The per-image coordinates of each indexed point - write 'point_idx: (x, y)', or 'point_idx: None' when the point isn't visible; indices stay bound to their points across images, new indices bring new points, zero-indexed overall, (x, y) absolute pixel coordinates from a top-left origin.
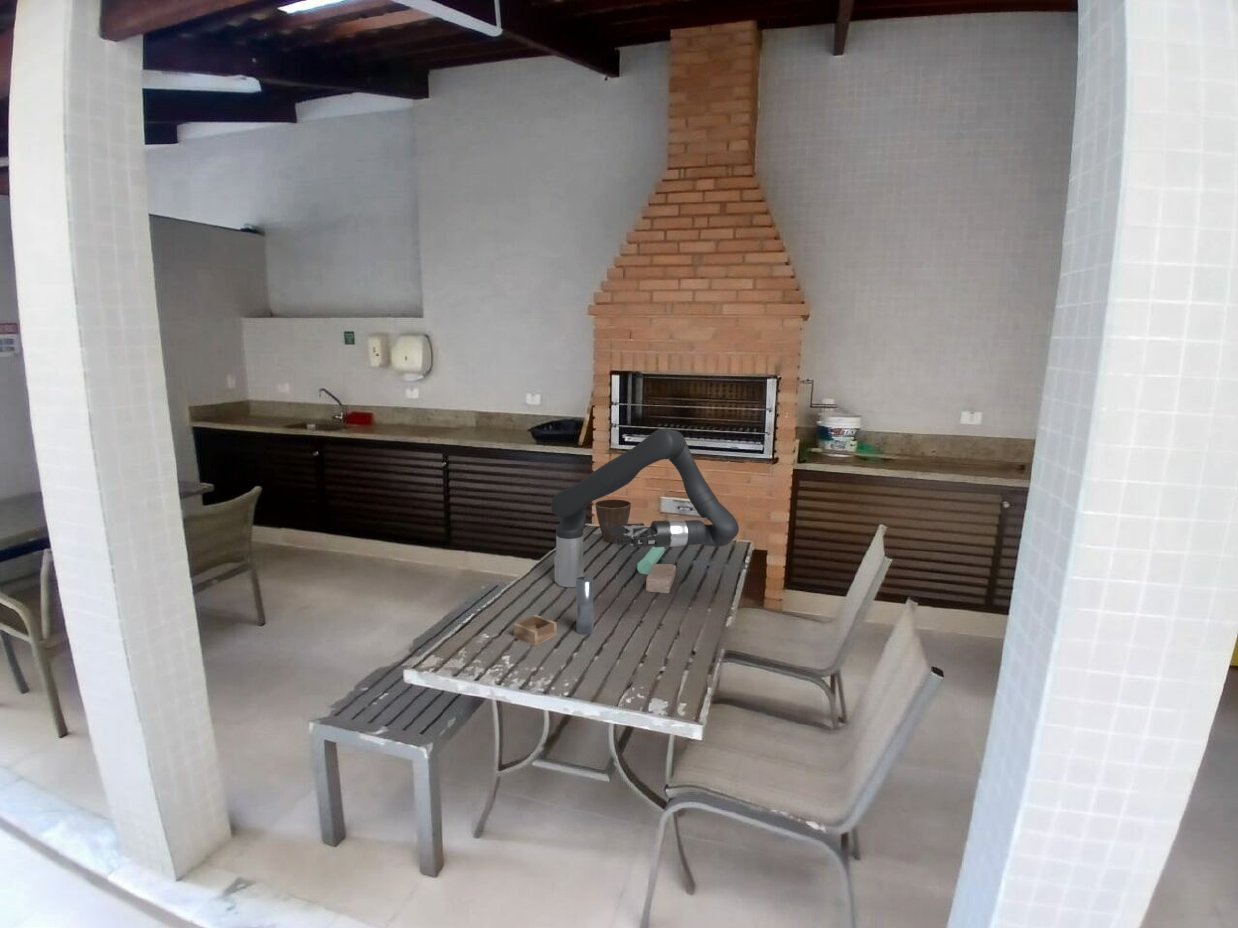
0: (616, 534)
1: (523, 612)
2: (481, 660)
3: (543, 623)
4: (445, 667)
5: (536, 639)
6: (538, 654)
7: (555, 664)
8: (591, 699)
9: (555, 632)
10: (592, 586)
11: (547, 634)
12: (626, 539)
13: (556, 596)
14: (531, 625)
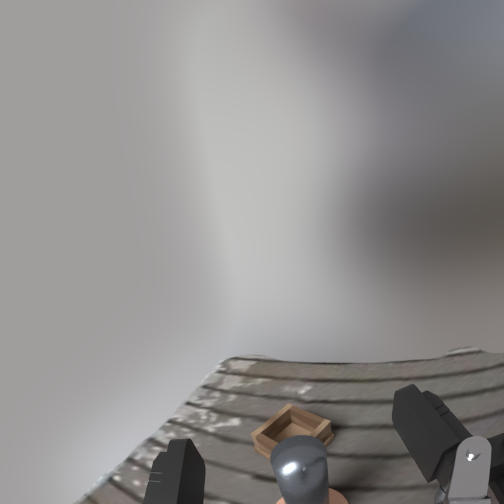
0: (407, 446)
1: None
2: (232, 400)
3: None
4: (224, 376)
5: (256, 443)
6: (234, 456)
7: None
8: (91, 497)
9: None
10: (287, 483)
11: None
12: (149, 496)
13: (475, 415)
14: (314, 428)
